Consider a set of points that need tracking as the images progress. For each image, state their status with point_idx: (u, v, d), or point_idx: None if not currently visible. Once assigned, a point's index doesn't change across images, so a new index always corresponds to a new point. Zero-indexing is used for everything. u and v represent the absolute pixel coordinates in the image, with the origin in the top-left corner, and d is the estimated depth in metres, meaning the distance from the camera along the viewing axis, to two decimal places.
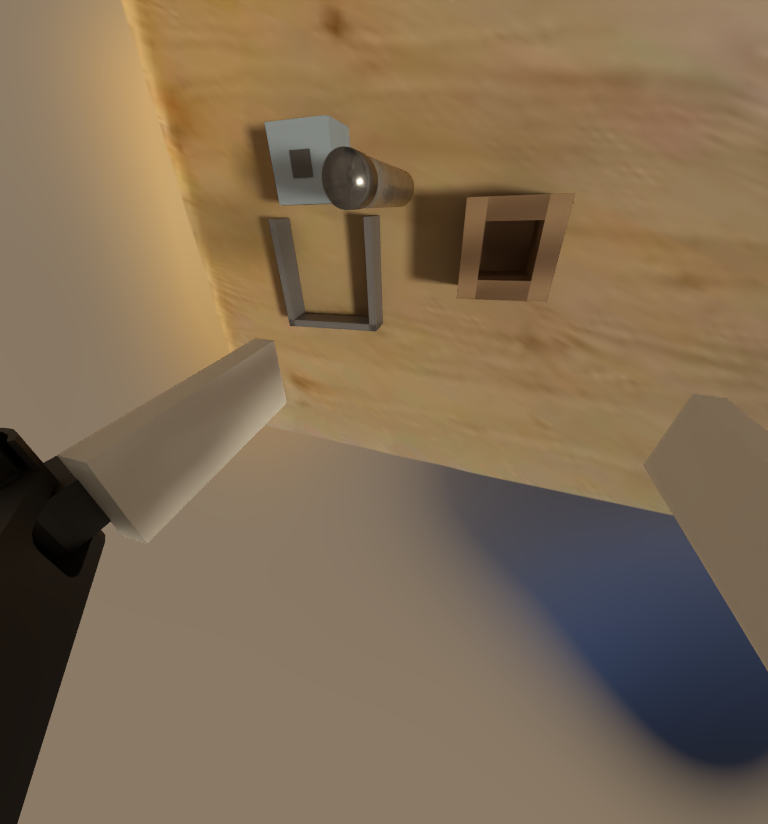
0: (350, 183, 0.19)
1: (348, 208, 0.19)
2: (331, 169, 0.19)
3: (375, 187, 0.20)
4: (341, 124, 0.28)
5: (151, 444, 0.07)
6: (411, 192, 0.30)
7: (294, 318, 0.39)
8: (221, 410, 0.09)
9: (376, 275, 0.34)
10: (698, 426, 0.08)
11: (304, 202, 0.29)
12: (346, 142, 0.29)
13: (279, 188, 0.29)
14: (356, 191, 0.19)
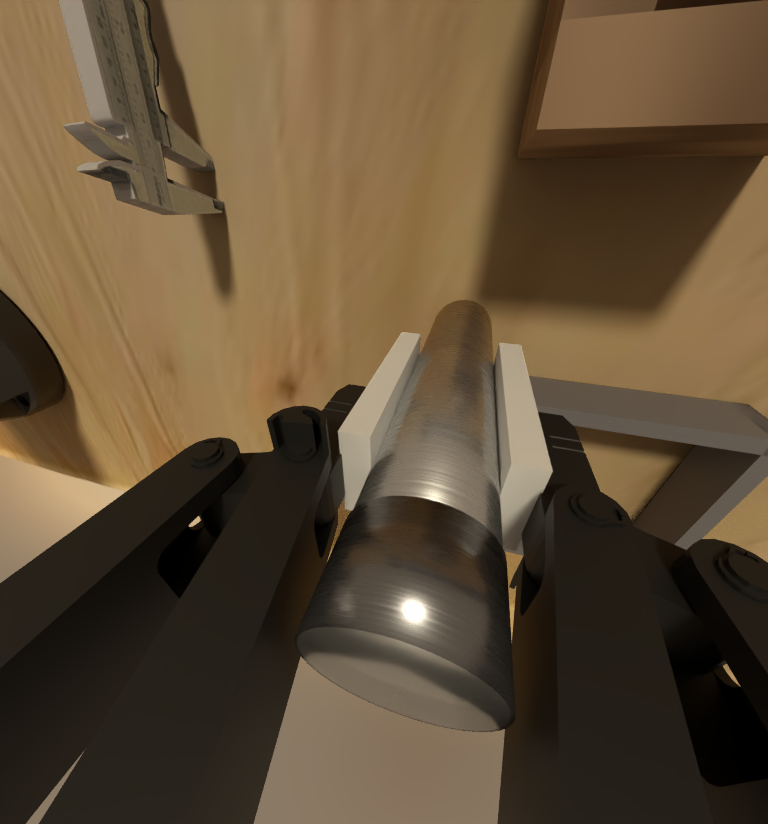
0: (411, 680, 0.04)
1: (508, 720, 0.04)
2: (361, 687, 0.05)
3: (450, 519, 0.05)
4: None
5: (384, 424, 0.08)
6: (472, 307, 0.14)
7: None
8: (401, 397, 0.10)
9: (621, 404, 0.14)
10: (496, 364, 0.11)
11: None
12: None
13: None
14: (446, 682, 0.04)
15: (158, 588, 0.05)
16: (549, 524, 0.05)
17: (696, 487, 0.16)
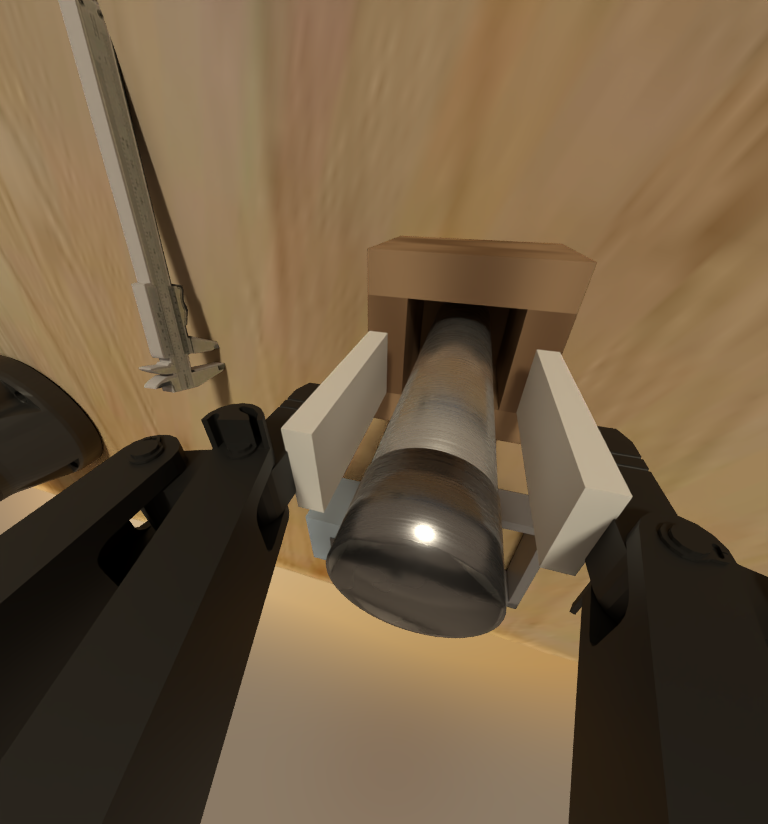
0: (423, 585, 0.05)
1: (500, 615, 0.05)
2: (379, 604, 0.06)
3: (454, 464, 0.06)
4: None
5: (334, 422, 0.08)
6: None
7: (507, 600, 0.27)
8: (362, 395, 0.10)
9: None
10: (535, 373, 0.10)
11: None
12: None
13: None
14: (451, 581, 0.05)
15: (100, 584, 0.05)
16: (635, 552, 0.05)
17: (528, 548, 0.25)
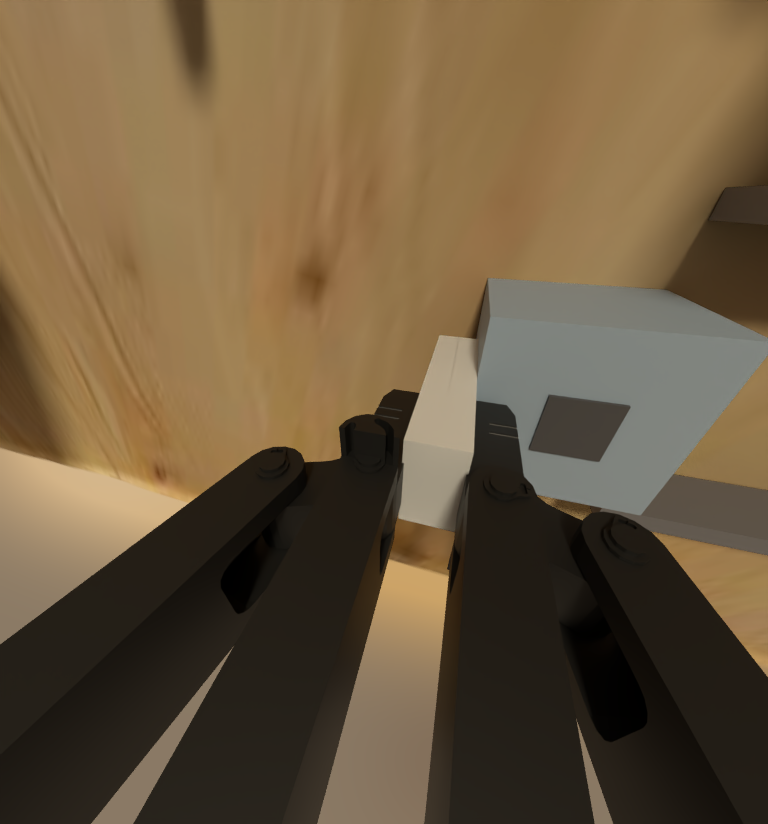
0: None
1: None
2: None
3: None
4: (492, 289, 0.10)
5: None
6: None
7: None
8: None
9: None
10: None
11: (683, 453, 0.08)
12: (524, 286, 0.11)
13: (600, 500, 0.10)
14: None
15: (218, 604, 0.05)
16: (466, 505, 0.06)
17: None
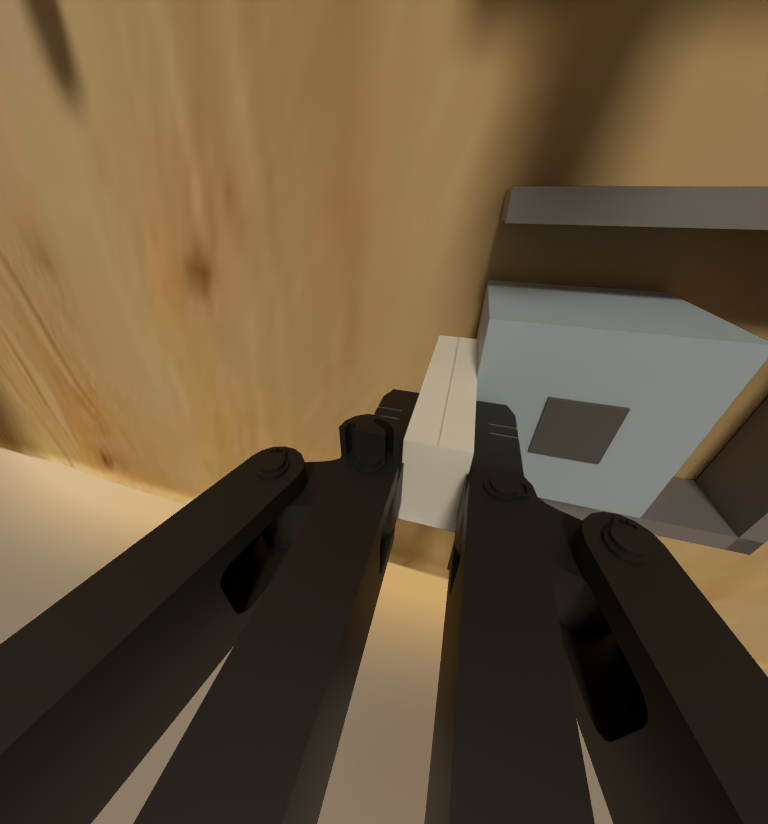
0: None
1: None
2: None
3: None
4: (492, 291, 0.10)
5: None
6: None
7: (732, 534, 0.12)
8: None
9: None
10: None
11: (683, 455, 0.08)
12: (524, 288, 0.11)
13: (600, 503, 0.10)
14: None
15: (219, 604, 0.05)
16: (466, 505, 0.05)
17: None
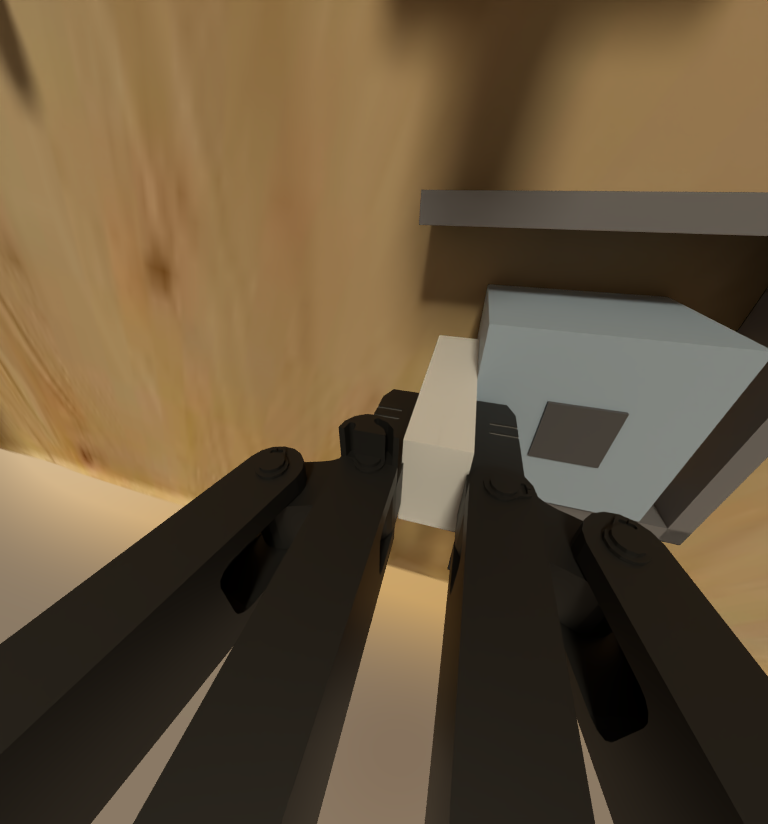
0: None
1: None
2: None
3: None
4: (492, 295, 0.10)
5: None
6: None
7: (662, 525, 0.12)
8: None
9: None
10: None
11: (682, 460, 0.08)
12: (524, 292, 0.11)
13: (599, 506, 0.10)
14: None
15: (218, 604, 0.05)
16: (466, 505, 0.06)
17: None
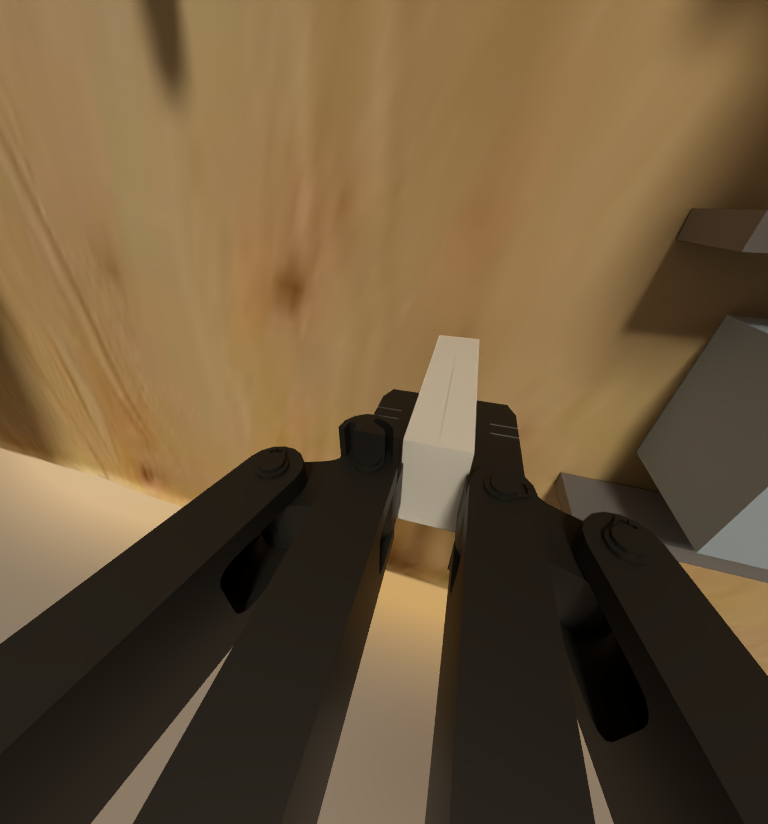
0: None
1: None
2: None
3: None
4: None
5: None
6: None
7: None
8: None
9: None
10: None
11: None
12: None
13: None
14: None
15: (218, 604, 0.05)
16: (466, 505, 0.06)
17: None
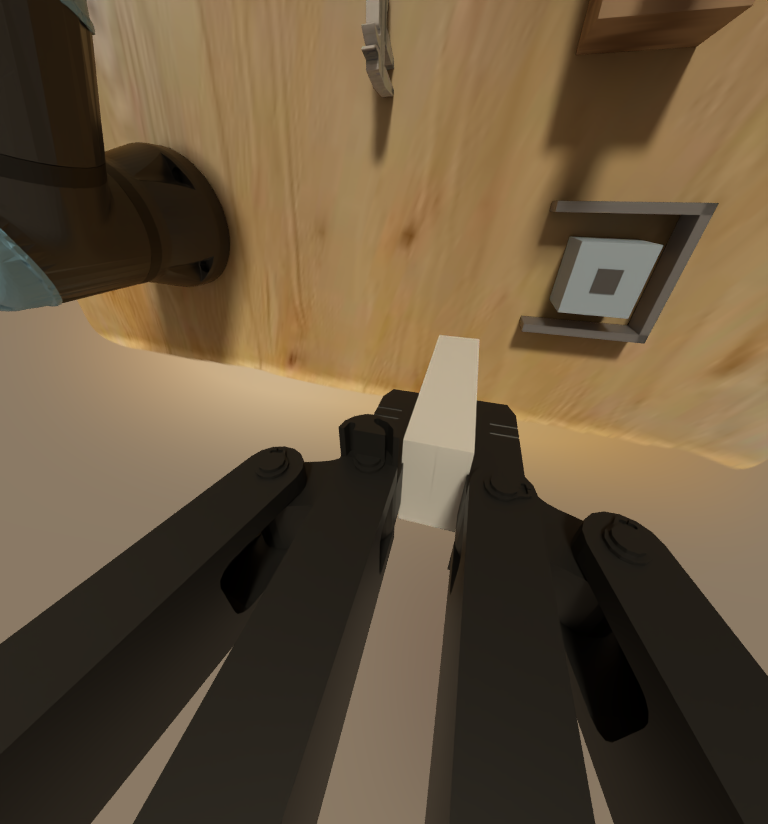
0: None
1: None
2: None
3: None
4: (575, 238, 0.28)
5: None
6: None
7: (637, 334, 0.30)
8: None
9: None
10: None
11: (641, 287, 0.27)
12: (585, 237, 0.29)
13: (613, 313, 0.28)
14: None
15: (218, 604, 0.05)
16: (467, 505, 0.06)
17: (669, 259, 0.27)
